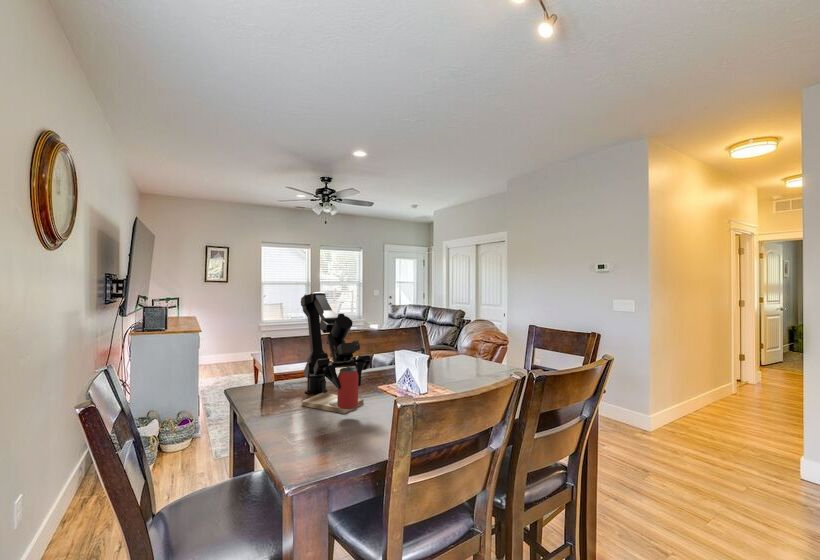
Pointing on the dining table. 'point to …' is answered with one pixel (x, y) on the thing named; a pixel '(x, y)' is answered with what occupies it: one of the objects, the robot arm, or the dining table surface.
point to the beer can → (348, 388)
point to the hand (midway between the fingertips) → (349, 387)
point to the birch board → (327, 402)
